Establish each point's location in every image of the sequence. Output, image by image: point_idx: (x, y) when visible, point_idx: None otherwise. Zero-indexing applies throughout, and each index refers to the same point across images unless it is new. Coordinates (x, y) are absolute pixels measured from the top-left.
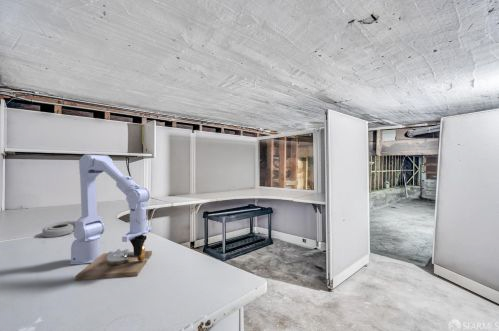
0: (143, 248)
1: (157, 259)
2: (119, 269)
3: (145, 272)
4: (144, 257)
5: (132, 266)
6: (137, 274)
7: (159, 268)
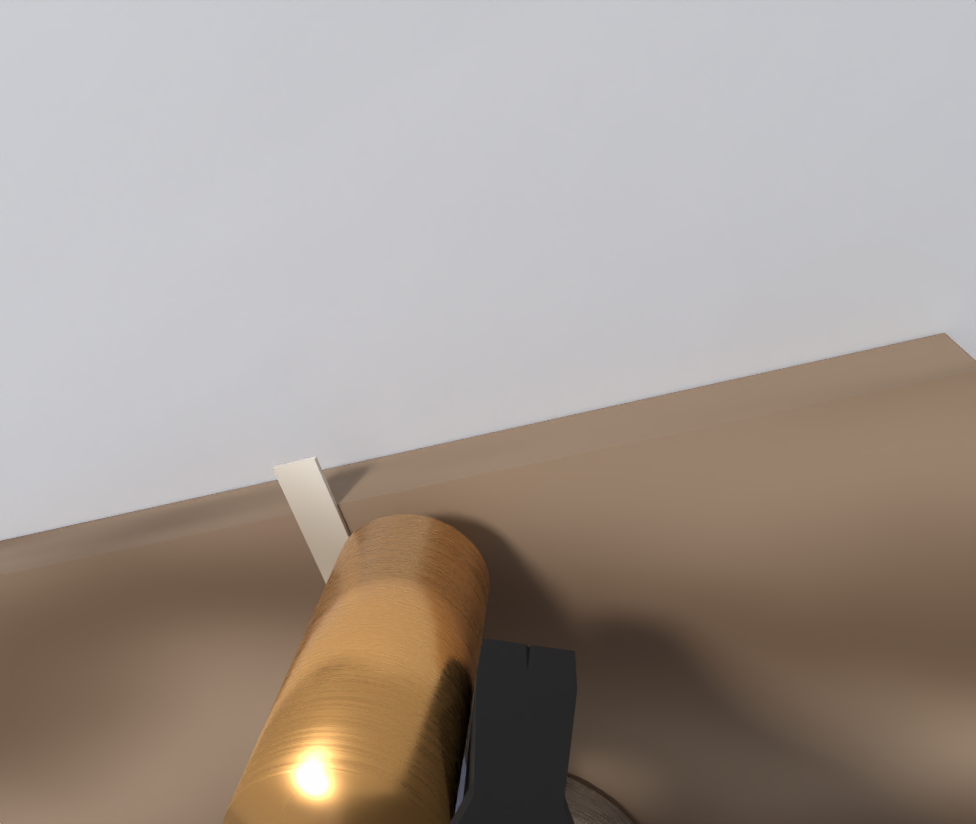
0: (380, 736)
1: (70, 337)
2: (827, 729)
3: (766, 251)
4: (396, 538)
5: (679, 590)
6: (943, 345)
7: (530, 22)
